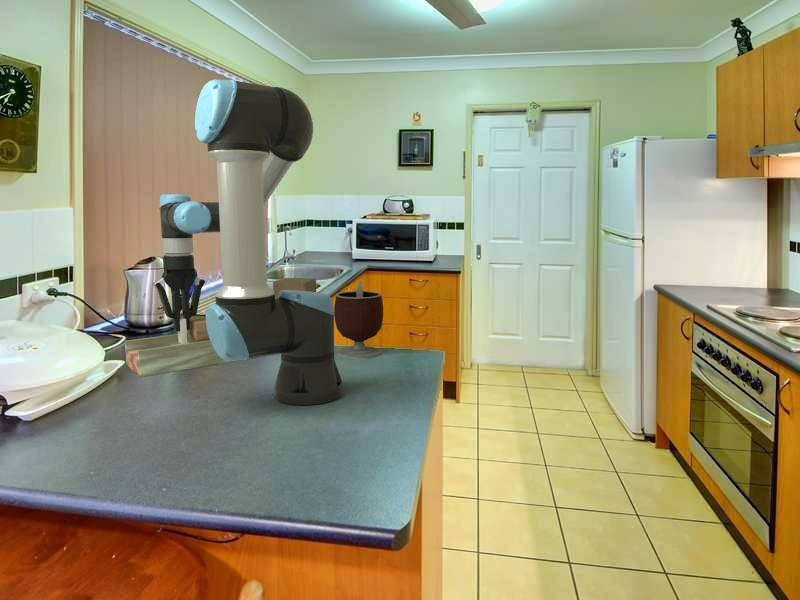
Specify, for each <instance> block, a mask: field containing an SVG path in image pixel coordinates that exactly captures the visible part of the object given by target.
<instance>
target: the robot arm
mask: <svg viewBox="0 0 800 600" xmlns="http://www.w3.org/2000/svg"><path fill="white" fill-rule="evenodd" d="M194 129H195V132H196V137H197V139H198V140H199V142H201V143H202V144H204V145H207V154H208V156H210V158H212V159H213V161H214V162H215V164H216V173H217V175H216V177H217V191H218V192H217V193H218V201H217V202H216V201H215V202H214V201H192V200H191V196H190V195H189V194H175V193H173V194H171V193H170V194H169V193H168V194H165V193H164V194H161V195H160V197H159V206H158V208H159V215H160V230H161V231H160V232H161V246H162V253H163V254H164V255H163V256H162V265H163V266H162V267H163V273H162V275H161V279H159V280H158V281H154V282H153V283H152V285H153V287H154V288H155V289H156V290H157V292H158V295H159V298H160V301H161V305H162V309H163V310H164V314H165V316H166V317H167V318H169V319H172V320H173V329H174V331H175V332H177V334H178V342H179V343H181V344H185V343H187V333H188V330H190V319H192V317H193V316H196V315H197V314H198V308H199V303H200V298H201V293H202V290H203V287H204V285H205V283H206V281H205V280H204V279H202V278H200V277H198V276H197V273H196V272H195V259H194V255H193V253H194V241H193V240H194V239H193V236H194V235H193V234H200V233H202V234H203V233H219V235H220V252H221V253H220V254H221V271H222V272H221V274H222V286H221V287H220V288H219V290H217V292H216V293H215V303H213V304H211V305H209V306H207V309H206V312H205V313H206V314H205V317H206V326H207V331H208V335H209V338H210V341H211V343H212V346H213V348H214V350H215V351H216V353H217V354H218V355H219V356H220V357H221V358H222V359H224V360H226V361H233V362H237V360H239V361H245V362H246V361H248V360H250V359H257V358H262V357H263V358H264V357H267V356H268V357H269V356H273V355H279V354H280V364H279V365H280V366H279V368H278V372H277V375H276V378H275V382H274V385H273V397H274V398H275V399H276V400H277V401H278V402H281V403H284V404H289V405H293V406H294V405H299V406H307V405H308V406H310V405H320V404H325V403H329V402H333V401H335V400H337V399H339V398H340V397H341V396H343V394H344V386H343V385H344V384H343V380H342V378H341V375H340V372H339V369H338V366H337V362H336V359H335V317H334V316H335V314H334V300H333V298H332V297H331V296H330V295H328V294H326V293H323V292H317V291H316V292H310V291H299V290H282V291H280V292H279V295H278V297H279V298H278V299H275V292H274V291H273V288H271V287H270V286H269V285H268V281H267V280H268V279H267V278H268V276H267V253H266V250H267V249H266V230H265V229H266V225H265V223H266V221H265V205H266V203H267V202H268V200H269V199H270V198H271V196H272V194H273V193H274V192H275V190H276V189H277V187H278V186H279V185H280V183H281V181H282V180H283V178H284V177H285V176H286V174H287V173H288V171H289V169H290V168H291V167H292V165H293V163H296V162H298V161H301V160H302V159H303V158H304V156H305V154H306V153H307V151H308V150H309V148H310V145H311V143H312V140H313V137H314V136H313V134H314V123H313V117H312V115H311V112H310V110H309V108H308V106H307V104H306V103H305V101H304V100H303V99H302V98H301V97H300V96H299V95H298V94H296V93H295V92H294V91H292V90H289V89H288V88H284V87H281V86H269V85H262V84H257V83H252V82H247V81H246V82H245V81H239V80H235V79H229V80H228V79H211V80H209V81H208V82H207V83H205V85H204V86H203V87H202V89H201V91H200V94H199V96H198V99H197V103H196V106H195V114H194ZM192 284H193V285H194V286H193V290H192V294H191V300H190V287H191V286H192ZM166 285H167V286H168V288H169V289H170V293H171V294H170V295H171V303H170V301H169V297H168V294H167V291H166V289H165V287H166ZM180 293H181V294H180ZM180 295H181V299H180ZM180 300H181V303H180ZM171 305H172V306H171ZM180 305H181V306H180ZM181 313H182V317H181Z"/></svg>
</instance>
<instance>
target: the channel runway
mask: <svg viewBox="0 0 800 600" xmlns="http://www.w3.org/2000/svg"><path fill="white" fill-rule="evenodd" d="M124 349H125V350H124V351H125V362H126V366H127V367H128V368H130V370H132V371H133V372H134V373H136V374H137V375H138V376H139V377H140V378H142V377H150V376H155V375H161V374H162V375H163V374H167V373H172V372H173V373H174V372H178V371H183V370H184V371H185V370H190V369H196V368H201V367H203V368H204V367H208V366H215V365H220V364H226V363H232V362H234V361H226V360H224V359H222V358H221V357H220V356H219V355H218V354H217V353H216V351H215V350H214V348H213V346H212V343H211V341H210V340H208V341H201V342H194V343H188V332H187V343H185V344H181V343H179V342H178V333H174V334H167V335H158V336H152V337H145V338H137V339H131V340H129V339H128V340H124ZM237 361H240V360H237ZM237 361H236V362H237Z"/></svg>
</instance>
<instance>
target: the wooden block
mask: <svg viewBox="0 0 800 600" xmlns="http://www.w3.org/2000/svg"><path fill="white" fill-rule="evenodd" d="M272 290H273V291H274V292H275V299H278V298H279V297H278V295H279V292H280V291H282V290H299V291H310V292H317V279H316V278H315V277H314V278H312V277H311V278H310V277H309V278H308V277H307V278H306V277H285V278H281V279H277V280H275V281H273V282H272Z"/></svg>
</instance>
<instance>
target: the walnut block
mask: <svg viewBox="0 0 800 600" xmlns="http://www.w3.org/2000/svg"><path fill="white" fill-rule="evenodd" d="M187 333H188V343H194V342H201V341H208V340H210V338H209V335H208V331H207V326H206V316H202V317H201V316H200V317H193V318H190V330H187Z"/></svg>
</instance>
